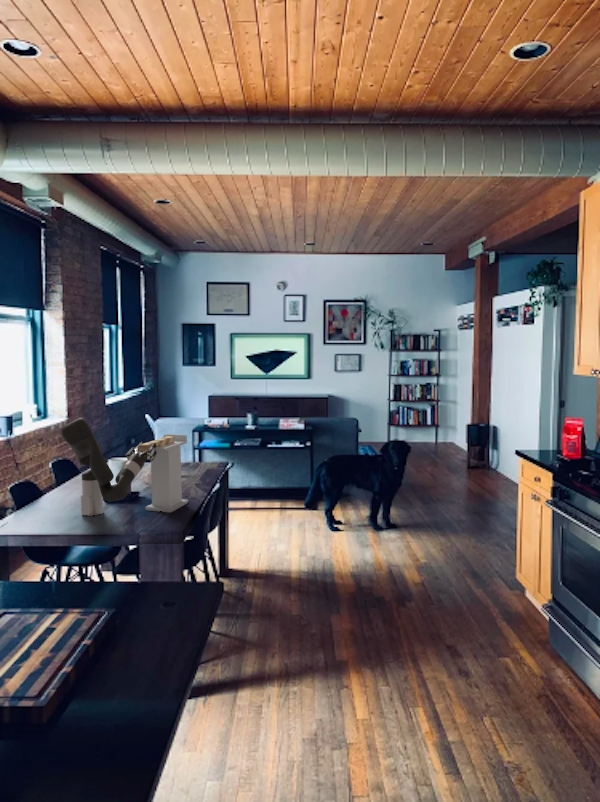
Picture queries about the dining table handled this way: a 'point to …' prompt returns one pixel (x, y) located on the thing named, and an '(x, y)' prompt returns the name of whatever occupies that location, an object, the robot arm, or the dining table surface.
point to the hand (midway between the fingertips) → (148, 443)
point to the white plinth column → (167, 476)
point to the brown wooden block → (157, 443)
